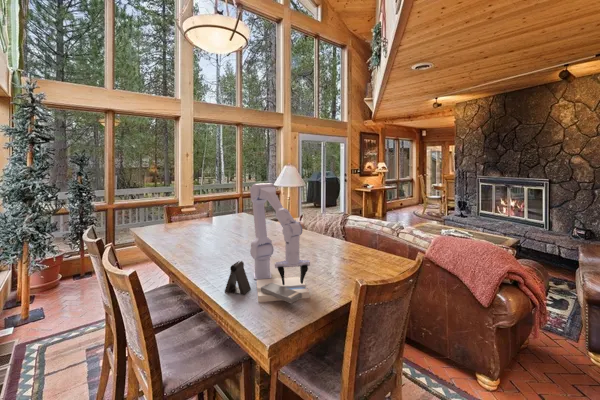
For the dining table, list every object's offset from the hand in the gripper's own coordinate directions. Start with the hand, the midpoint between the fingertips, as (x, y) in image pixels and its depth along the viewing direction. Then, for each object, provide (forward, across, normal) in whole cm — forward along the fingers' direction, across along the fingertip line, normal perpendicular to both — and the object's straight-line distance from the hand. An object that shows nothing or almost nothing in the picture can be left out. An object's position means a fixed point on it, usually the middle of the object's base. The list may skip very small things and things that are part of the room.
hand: (292, 283), depth 120 cm
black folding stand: (+4, -22, +5) cm, 23 cm away
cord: (+2, 0, -2) cm, 3 cm away
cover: (0, -6, -8) cm, 10 cm away
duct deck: (+3, -4, +1) cm, 6 cm away
